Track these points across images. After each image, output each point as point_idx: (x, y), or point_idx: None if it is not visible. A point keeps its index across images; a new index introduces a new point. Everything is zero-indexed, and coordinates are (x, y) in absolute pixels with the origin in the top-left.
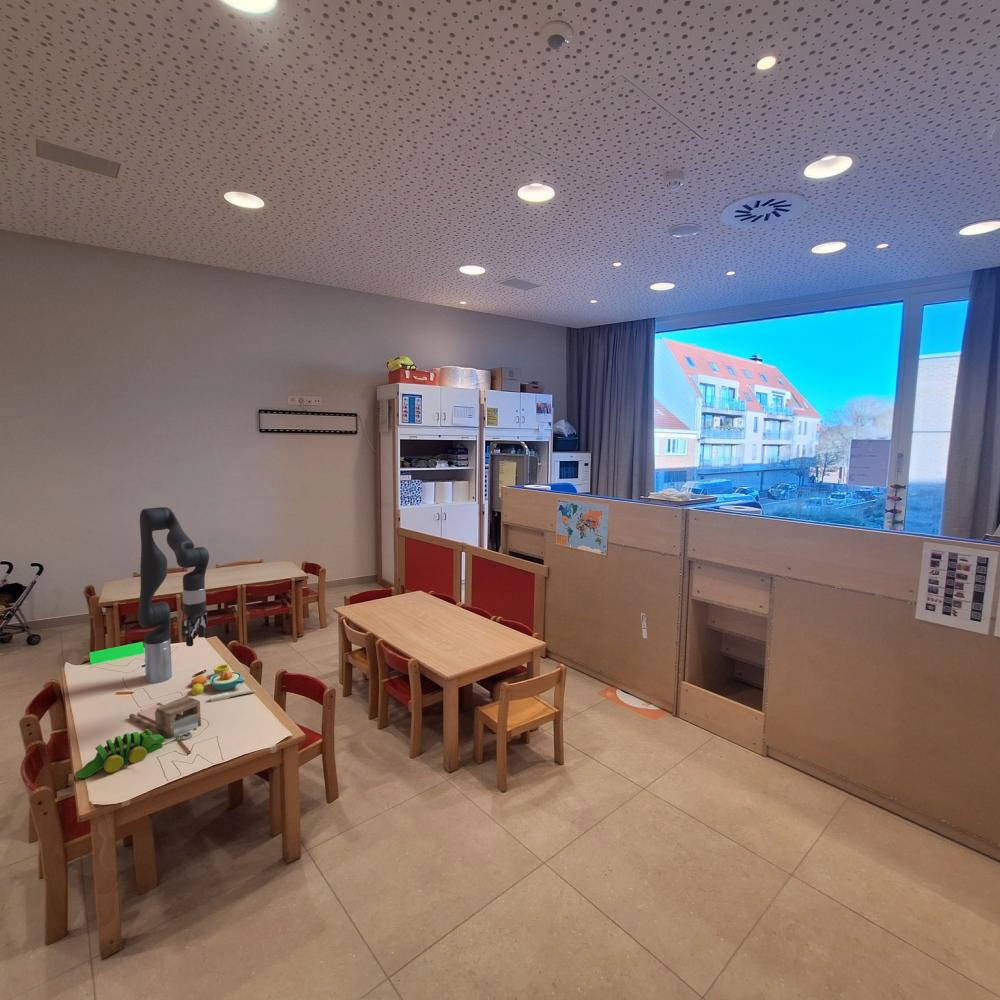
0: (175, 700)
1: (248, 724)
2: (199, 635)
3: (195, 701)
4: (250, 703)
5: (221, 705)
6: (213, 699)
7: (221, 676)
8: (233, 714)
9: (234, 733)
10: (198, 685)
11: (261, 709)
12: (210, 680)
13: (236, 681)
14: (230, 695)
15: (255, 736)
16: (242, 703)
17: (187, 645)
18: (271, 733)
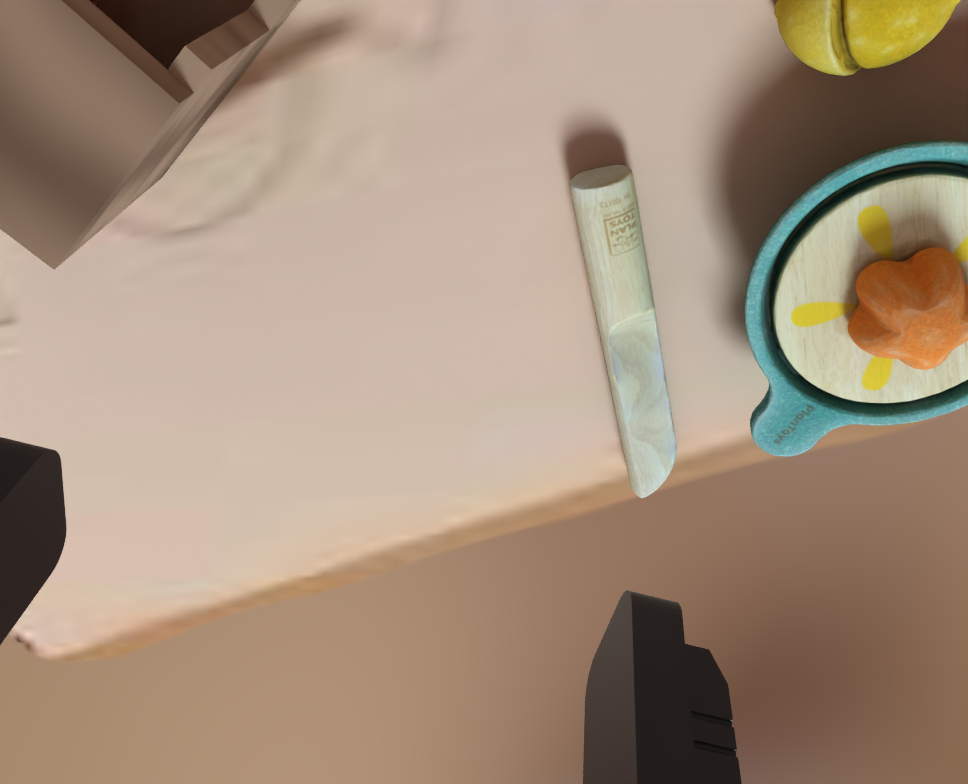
0: (62, 4)
1: (161, 471)
2: (623, 645)
3: (44, 231)
4: (471, 458)
5: (492, 269)
6: (574, 206)
7: (881, 282)
8: (314, 373)
9: (48, 410)
10: (865, 26)
11: (359, 523)
12: (910, 152)
13: (766, 395)
14: (601, 335)
15: None
16: (486, 410)
17: (3, 457)
18: (53, 580)
